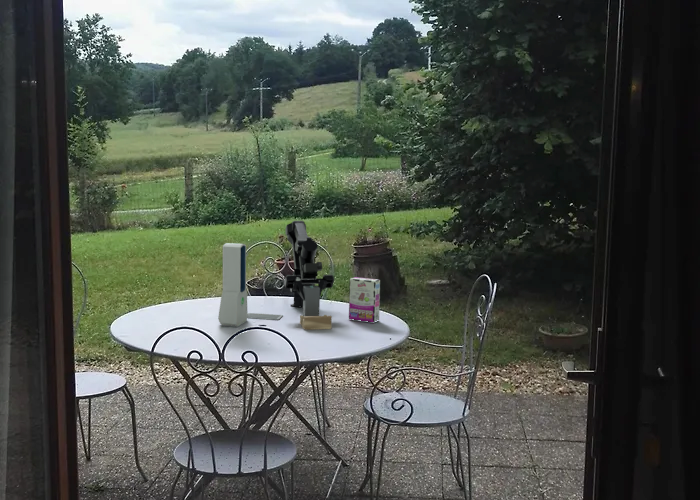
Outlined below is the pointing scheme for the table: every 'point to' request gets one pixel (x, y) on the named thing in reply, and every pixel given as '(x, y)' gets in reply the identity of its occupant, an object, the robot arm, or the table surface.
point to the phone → (264, 316)
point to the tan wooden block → (315, 322)
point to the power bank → (311, 301)
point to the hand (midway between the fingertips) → (311, 299)
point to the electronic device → (233, 286)
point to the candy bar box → (364, 299)
